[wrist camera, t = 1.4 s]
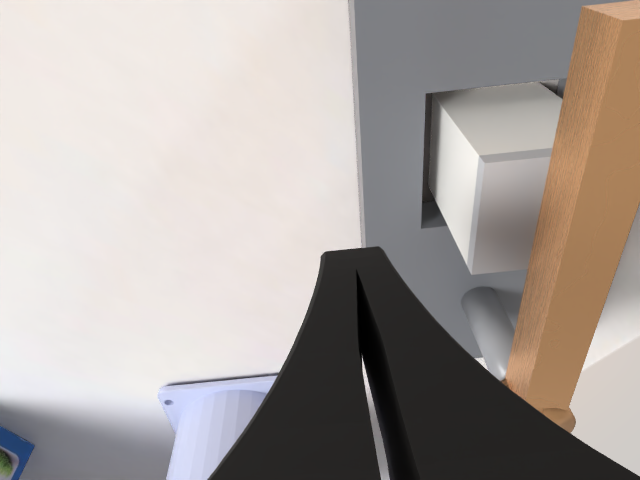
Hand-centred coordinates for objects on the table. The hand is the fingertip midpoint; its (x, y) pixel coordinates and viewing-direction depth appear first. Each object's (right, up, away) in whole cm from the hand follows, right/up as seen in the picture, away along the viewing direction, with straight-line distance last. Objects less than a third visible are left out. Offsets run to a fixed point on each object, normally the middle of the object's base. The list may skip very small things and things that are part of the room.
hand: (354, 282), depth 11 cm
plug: (+6, +5, +8) cm, 11 cm away
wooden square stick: (+6, 0, +3) cm, 7 cm away
